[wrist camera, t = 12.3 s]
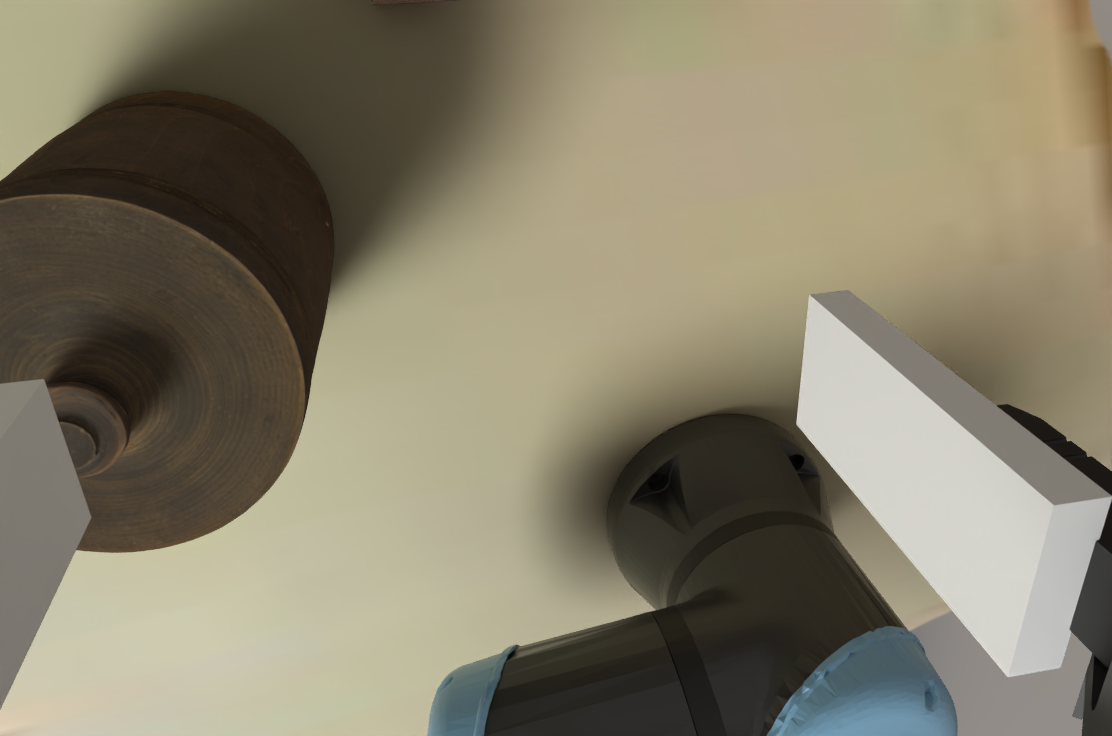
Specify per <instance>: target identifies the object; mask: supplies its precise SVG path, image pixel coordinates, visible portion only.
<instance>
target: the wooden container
mask: <svg viewBox="0 0 1112 736" xmlns="http://www.w3.org/2000/svg"><path fill="white" fill-rule="evenodd" d="M333 253H334V234H333V224H332V218H331V213H330V209H329V205H328V202H327V199H326V196H325V194H324V191H323V189H322V187H321V185H320V183H319V181H318V179H317V177H316V175H315V174H314V172H313V171H312V169H311V168H310V166H309V165H308V163H307V162H306V160H305V159H304V158H303V157H302V155H301V154H300V153H299V152H298V151H297V150H296V149H295V147H294V146H293V145H292V144H291V143H290V142H289V141H288V140H287V139H286V138H285V137H284V136H283V135H281V134H280V133H279V132H278V131H277V130H275V129H274V128H273V127H271V126H270V125H268V124H267V123H266V122H264V121H263V120H261V119H260V118H258V117H256V116H255V115H253V114H251V113H250V112H248V111H246V110H244V109H242V108H240V107H237V106H235V105H233V104H230V103H227V102H224V101H221V100H218V99H214V98H211V97H207V96H203V95H198V94H192V93H184V92H153V93H144V94H138V95H134V96H130V97H127V98H124V99H121V100H118V101H115V102H113V103H110V104H108V105H106V106H104V107H102V108H100V109H98V110H97V111H95V112H93V113H92V114H90V115H88V116H87V117H85V118H84V119H82V120H81V121H80V122H78V123H77V124H75V125H74V126H72V127H70V128H69V129H67V130H66V131H64V132H62V133H61V134H59V135H57V136H56V137H54V138H53V139H51V140H50V141H49V142H47V143H46V144H45V145H44V146H42V147H41V148H40V149H39V150H37V151H36V152H35V153H34V154H33V155H31V156H30V157H29V158H28V159H26V160H25V161H24V162H23V163H22V164H20V165H19V166H18V167H17V168H16V169H15V170H13V171H12V172H11V173H10V174H9V175H8V176H6V177H5V178H4V179H2V180H1V181H0V384H3V383H12V382H21V381H30V380H39V379H44V381H45V383H46V386H47V389H48V392H49V395H50V398H51V401H52V404H53V407H54V410H55V413H56V415H57V418H58V421H59V424H60V427H61V430H62V433H63V436H64V439H65V442H66V445H67V448H68V450H69V453H70V456H71V459H72V462H73V465H74V468H75V471H76V474H77V477H78V480H79V483H80V485H81V488H82V491H83V494H84V497H85V500H86V503H87V506H88V509H89V512H90V515H91V519H90V522H89V524H88V526H87V528H86V530H85V532H84V534H83V536H82V538H81V540H80V543H79V545H78V547H77V549H76V550H81V551H93V552H110V553H121V552H137V551H146V550H154V549H160V548H165V547H169V546H173V545H177V544H180V543H184V542H187V541H191V540H194V539H196V538H199V537H201V536H204V535H206V534H209V533H211V532H213V531H215V530H217V529H219V528H221V527H223V526H225V525H226V524H228V523H230V522H231V521H233V520H234V519H236V518H237V517H239V516H240V515H242V514H243V513H244V512H246V511H247V510H248V509H249V508H250V507H251V506H253V505H254V504H255V503H256V502H257V501H258V500H259V499H260V498H261V497H262V496H263V495H264V494H265V493H266V492H267V491H268V490H269V489H270V488H271V487H272V485H273V484H274V483H275V481H276V480H277V479H278V477H279V476H280V475H281V473H282V472H283V470H284V468H285V467H286V465H287V463H288V462H289V460H290V458H291V456H292V454H293V451H294V449H295V447H296V444H297V441H298V438H299V436H300V433H301V429H302V426H303V422H304V418H305V414H306V410H307V405H308V399H309V394H310V386H311V379H312V374H313V369H314V365H315V359H316V354H317V350H318V345H319V341H320V337H321V333H322V329H323V325H324V319H325V314H326V309H327V303H328V296H329V290H330V281H331V271H332V263H333Z"/></svg>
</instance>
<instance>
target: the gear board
mask: <svg viewBox="0 0 1112 736" xmlns="http://www.w3.org/2000/svg"><path fill="white" fill-rule="evenodd" d="M434 1H452V0H372V2H373V5H381V4H399V3H417V2H434Z"/></svg>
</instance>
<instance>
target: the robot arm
mask: <svg viewBox="0 0 1112 736" xmlns="http://www.w3.org/2000/svg"><path fill="white" fill-rule="evenodd" d="M796 424H797V426H798V427H799V428H800V429H801V430H802V432H803V433H804V434H805V435H806V436H807V438H808V439H809V440H810V441H811V442H812V444H813V445H814V446H815V447H816V448H817V450H818V451H819V452H820V453H821V454H822V456H823V457H824V458H825V459H826V460H827V462H828V463H829V464H830V465H831V466H832V468H833V469H834V470H835V471H836V472H837V474H838V475H839V476H840V477H841V478H842V479H843V481H844V482H845V483H846V484H847V485H848V487H849V488H850V489H851V490H852V491H853V493H854V494H855V495H856V496H857V497H858V499H859V500H860V501H861V502H862V503H863V505H864V506H865V507H866V508H867V509H868V511H869V512H870V513H871V514H872V515H873V517H874V518H875V519H876V520H877V521H878V523H879V524H880V525H881V526H882V527H883V529H884V530H885V531H886V532H887V533H888V535H889V536H890V537H891V538H892V539H893V540H894V542H895V543H896V544H897V545H898V546H899V548H900V549H901V550H902V551H903V552H904V554H905V555H906V556H907V557H908V558H909V560H910V561H911V562H912V563H913V564H914V566H915V567H916V568H917V569H918V570H919V572H920V573H921V574H922V575H923V576H924V578H925V579H926V580H927V581H928V582H929V584H930V585H931V586H932V587H933V588H934V590H935V591H936V592H937V593H938V594H939V596H940V597H941V598H942V599H943V600H944V602H945V603H946V604H947V605H948V606H949V607H950V609H951V610H952V611H953V612H954V613H955V614H956V616H957V617H958V618H959V619H960V621H961V622H962V623H963V624H964V625H965V626H966V628H967V629H968V630H969V631H970V633H971V634H972V635H973V636H974V637H975V639H976V640H977V641H978V642H979V643H980V645H981V646H982V647H983V648H984V649H985V650H986V652H987V653H988V654H989V655H990V657H991V658H992V659H993V660H994V661H995V662H996V664H997V665H998V666H999V667H1000V668H1001V670H1002V671H1003V672H1004V673H1005V674H1006V676H1007V677H1012V676H1018V675H1023V674H1028V673H1034V672H1040V671H1045V670H1051V669H1056V668H1060V667H1061V665H1062V661H1063V658H1064V655H1065V651H1066V648H1067V644H1068V641H1069V638H1070V635H1071V632H1072V633H1073V634H1074V635H1075V636H1076V637H1077V638H1078V639H1079V640H1080V641H1081V642H1082V643H1083V644H1084V645H1085V646H1086V647H1087V648H1088V649H1089V650H1090V651H1091V652H1092V657H1091V660H1090V663H1089V666H1088V669H1087V672H1086V675H1085V679H1084V681H1083V685H1082V688H1081V691H1080V694H1079V697H1078V700H1077V703H1076V706H1075V709H1074V712H1073V717H1076V718H1079V719H1082V718H1083V727H1082V728H1083V729H1082V736H1112V471H1110V470H1109V469H1108V468H1106V467H1105V466H1104V465H1102V464H1101V463H1100V462H1098V461H1097V460H1096V459H1094V458H1093V457H1092V456H1091V457H1087V455H1086V452H1085V451H1084V450H1082V449H1081V448H1080V447H1078V446H1077V445H1076V444H1074V443H1073V442H1072V441H1068V442H1067V440H1066V437H1065V436H1064V435H1062V434H1061V433H1060V432H1058V431H1057V430H1056V429H1054V428H1053V427H1052V426H1050V425H1049V424H1048V423H1046V422H1045V421H1044V420H1042V419H1041V418H1038V417H1036V416H1034V415H1031V414H1029V413H1027V412H1024V411H1022V410H1020V409H1018V408H1015V407H1013V406H1011V405H1008V404H1005V405H997V406H996V405H995V404H993V403H992V402H991V401H990V400H988V399H987V398H986V397H984V396H983V395H982V394H981V393H979V392H978V391H977V390H975V389H974V388H973V387H972V386H970V385H969V384H968V383H967V382H965V381H964V380H963V379H961V378H960V377H959V376H958V375H956V374H955V373H954V372H952V371H951V370H950V369H949V368H947V367H946V366H945V365H944V364H942V363H941V362H940V361H938V360H937V359H936V358H935V357H933V356H932V355H931V354H929V353H928V352H927V351H926V350H924V349H923V348H922V347H920V346H919V345H918V344H917V343H915V342H914V341H913V340H912V339H910V338H909V337H908V336H906V335H905V334H904V333H903V332H901V331H900V330H899V329H897V328H896V327H895V326H894V325H892V324H891V323H890V322H888V321H887V320H886V319H885V318H883V317H882V316H881V315H880V314H878V313H877V312H876V311H874V310H873V309H872V308H871V307H869V306H868V305H867V304H865V303H864V302H863V301H862V300H860V299H859V298H858V297H856V296H855V295H854V294H853V293H851V292H850V291H849V290H846V291H837V292H828V293H819V294H810V295H809V303H808V313H807V323H806V332H805V342H804V352H803V362H802V372H801V382H800V392H799V402H798V412H797V422H796ZM90 519H91V515H90V512H89V509H88V506H87V503H86V500H85V497H84V494H83V491H82V488H81V485H80V483H79V480H78V477H77V474H76V471H75V468H74V465H73V462H72V459H71V456H70V453H69V450H68V448H67V445H66V442H65V439H64V436H63V433H62V430H61V427H60V424H59V421H58V418H57V415H56V413H55V410H54V407H53V404H52V401H51V398H50V395H49V392H48V389H47V386H46V383H45V381H44V379H39V380H30V381H21V382H12V383H3V384H0V709H1V707H2V705H3V703H4V701H5V699H6V696H7V694H8V692H9V690H10V688H11V686H12V684H13V682H14V680H15V677H16V675H17V673H18V671H19V669H20V667H21V665H22V663H23V661H24V659H25V656H26V654H27V652H28V650H29V648H30V646H31V644H32V642H33V640H34V637H35V635H36V633H37V631H38V629H39V627H40V625H41V623H42V621H43V618H44V616H45V614H46V612H47V610H48V608H49V606H50V604H51V602H52V599H53V597H54V595H55V593H56V591H57V589H58V587H59V585H60V583H61V581H62V578H63V576H64V574H65V572H66V570H67V568H68V566H69V564H70V562H71V559H72V557H73V555H74V553H75V551H76V549H77V547H78V545H79V543H80V540H81V538H82V536H83V534H84V532H85V530H86V528H87V526H88V524H89V522H90ZM606 526H607V535H608V539H609V543H610V546H611V549H612V551H613V554H614V556H615V559H616V562H617V564H618V566H619V569H620V571H621V572H622V574H623V576H624V577H625V579H626V580H627V581H628V583H629V584H630V585H631V586H632V587H633V588H634V589H635V590H636V591H637V592H638V593H639V594H640V595H641V596H642V597H643V598H644V599H645V600H646V601H647V602H648V603H649V604H650V605H651V606H652V607H653V608H654V609H656V610H655V611H652V612H647V613H643V614H640V615H636V616H632V617H629V618H625V619H622V620H618V621H614V622H611V623H607V624H603V625H599V626H596V627H592V628H588V629H584V630H581V631H577V632H573V633H569V634H566V635H562V636H558V637H554V638H550V639H547V640H543V641H539V642H535V643H532V644H528V645H524V646H519V645H513V646H510V647H508V648H507V649H505V650H504V651H503V652H502V653H500V654H498V655H494V656H491V657H488V658H485V659H482V660H479V661H476V662H473V663H470V664H467V665H464V666H461V667H459V668H457V669H455V670H454V671H452V672H451V673H450V674H449V675H448V676H447V677H446V678H445V679H444V680H443V681H442V683H441V685H440V687H439V688H438V690H437V692H436V695H435V698H434V701H433V704H432V707H431V712H430V718H429V725H428V735H427V736H957V715H956V710H955V706H954V703H953V700H952V698H951V696H950V694H949V692H948V690H947V688H946V686H945V685H944V683H943V682H942V680H941V679H940V677H939V676H938V674H937V672H936V671H935V669H934V668H933V666H932V665H931V663H930V661H929V660H928V658H927V657H926V654H925V651H924V648H923V646H922V644H921V643H920V641H919V640H918V638H917V637H916V636H915V635H914V634H913V633H912V632H910V631H908V630H907V628H906V627H905V626H904V624H903V623H902V622H901V620H900V619H899V618H898V617H897V615H896V614H895V613H894V611H893V610H892V609H891V607H890V606H889V605H888V603H887V602H886V601H885V600H884V598H883V597H882V596H881V594H880V593H879V592H878V590H877V589H876V588H875V587H874V585H873V584H872V583H871V581H870V580H869V579H868V577H867V576H866V575H865V573H864V572H863V571H862V570H861V568H860V567H859V566H858V564H857V563H856V562H855V560H854V559H853V558H852V556H851V555H850V554H849V553H848V551H847V550H846V549H845V547H844V546H843V545H842V544H841V542H840V541H839V540H838V538H837V537H836V535H835V534H834V529H833V525H832V520H831V516H830V511H829V507H828V502H827V498H826V493H825V489H824V485H823V481H822V479H821V476H820V474H819V472H818V470H817V468H816V466H815V464H814V463H813V461H812V459H811V458H810V457H809V456H808V454H807V453H806V452H805V451H804V449H803V448H802V447H801V446H800V445H799V443H798V442H797V441H796V440H795V439H794V438H793V437H792V436H791V435H790V434H789V433H788V432H787V431H785V430H784V429H782V428H781V427H779V426H777V425H775V424H773V423H771V422H769V421H766V420H764V419H760V418H757V417H752V416H747V415H736V414H726V415H715V416H709V417H704V418H700V419H696V420H693V421H690V422H687V423H684V424H682V425H680V426H677V427H675V428H673V429H671V430H669V431H668V432H666V433H664V434H662V435H661V436H659V437H658V438H656V439H655V440H653V441H652V442H651V443H650V444H648V445H647V446H646V447H645V448H644V449H642V450H641V451H640V452H639V453H638V454H637V455H636V456H635V457H634V458H633V460H632V461H631V462H630V463H629V464H628V466H627V467H626V468H625V470H624V471H623V473H622V474H621V476H620V477H619V479H618V481H617V483H616V485H615V487H614V489H613V492H612V494H611V497H610V500H609V504H608V509H607V518H606Z"/></svg>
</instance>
